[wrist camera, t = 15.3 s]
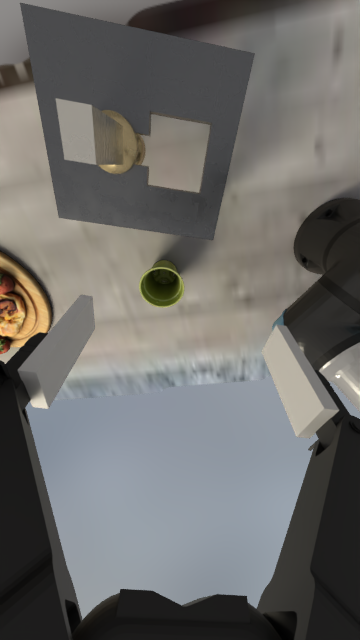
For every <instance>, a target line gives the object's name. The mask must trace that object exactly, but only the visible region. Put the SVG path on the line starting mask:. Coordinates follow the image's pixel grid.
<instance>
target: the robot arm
mask: <svg viewBox="0 0 360 640" xmlns="http://www.w3.org/2000/svg"><path fill="white" fill-rule="evenodd" d="M294 254H295V257H296V259H297V261H298V262H299V264H300V265H302V266H303V267H304V268H305V269H307V270H308V271H310V272H313V273H317V274H322V275H323V276H322V277H321V278H320V279H319V280H317V281H316V282H315V283H314V284H313V285H312V286H311V287H310V288H309V289H308V290H307V291H306V292H305V293H304V294H303V295H301V296H300V297H299V298H298V299H297V300H296V301H295V302H294V303H293V304H292V305H291V306H290V307H289V308H288V309H285V310H284V311H283V313H282V315H281V316H280V317H279V318H278V319H277V320H276V321H275V322H274V324H273V326H272V333H271V335H270V337H269V339H268V341H267V343H266V345H265V346H264V348H263V350H262V354H263V356H264V359H265V361H266V364H267V366H268V368H269V371H270V373H271V376H272V378H273V381H274V383H275V386H276V388H277V390H278V393H279V395H280V398H281V400H282V403H283V405H284V408H285V410H286V413H287V415H288V418H289V420H290V422H291V425H292V427H293V430H294V432H295V435H296V437H302V438H310V437H311V436H313V435H314V434H315V433H316V434H317V436H318V438H319V439H318V440H317V441H316V442H315V443H314V444H313V445H312V446H310V448H309V449H308V450H310V451H311V450H312V449H313V448H314V449H313V452H312V456H311V458H310V462H309V465H308V468H307V471H306V474H305V478H304V480H303V484H302V487H301V490H300V493H299V496H298V499H297V502H296V506H295V509H294V512H293V515H292V518H291V521H290V525H289V528H288V531H287V534H286V537H285V541H284V544H283V547H282V550H281V553H280V556H279V559H278V562H277V565H276V569H275V572H274V575H273V577H272V579H271V581H270V583H269V584H268V585H267V587H266V588H265V590H264V592H263V594H262V596H261V599H260V601H259V604H258V607H257V609H256V608H254V607H253V606H251V605H250V604H249V603H248V602H247V596H237V595H219V594H217V595H212V596H208V597H203V598H199V599H197V600H194V601H192V602H189V603H187V604H184V605H182V606H181V605H179V604H177V603H175V602H173V601H172V600H170V599H168V598H166V597H163V596H161V595H160V594H158V593H156V592H154V591H147V590H128V589H121V590H120V593H118V594H116V595H113V596H111V597H109V598H107V599H106V600H104V601H102V602H101V603H100V604H99V605H97V606H96V607H95V608H94V609H93V610H92V611H91V612H90V613H89V614H88V615H87V616H86V617H85V618H84V619H83V620H82V616H81V613H80V609H79V605H78V601H77V597H76V593H75V590H74V587H73V583H72V580H71V577H70V574H69V571H68V569H67V566H66V562H65V558H64V554H63V550H62V546H61V542H60V539H59V535H58V531H57V527H56V523H55V519H54V516H53V512H52V508H51V504H50V500H49V496H48V492H47V489H46V485H45V481H44V477H43V473H42V469H41V465H40V461H39V458H38V454H37V450H36V446H35V442H34V438H33V435H32V431H31V427H30V423H29V419H28V415H27V411H26V409H25V407H26V405H27V404H28V403H29V401H30V402H31V404H32V406H33V407H38V408H47V409H49V407H50V405H51V403H52V402H53V400H54V398H55V397H56V395H57V393H58V392H59V390H60V388H61V386H62V385H63V383H64V381H65V379H66V378H67V376H68V374H69V372H70V371H71V369H72V367H73V365H74V364H75V362H76V360H77V359H78V357H79V355H80V353H81V352H82V350H83V348H84V346H85V345H86V343H87V341H88V339H89V338H90V336H91V334H92V333H93V331H94V329H95V321H94V310H93V298H92V296H86V295H80V296H79V298H78V299H77V300H76V301H75V302H74V303H73V305H72V306H71V307H70V308H69V309H68V311H67V312H66V313H65V314H64V315H63V317H62V318H61V319H60V320H59V321H58V322H57V324H56V325H55V326H54V327H53V328H52V330H51V331H50V332H49V333H42V332H39V333H37V334H36V335H34V336H32V337H30V338H29V339H28V341H27V342H26V343H25V344H24V346H22V347H21V348H20V349H19V351H17V352H16V354H15V355H14V356H13V357H12V358H11V359H10V360H9V361H8V362H7V363H6V364H5V363H4V362H3V361H0V640H360V419H359V418H357V417H354V416H351V415H350V414H349V412H348V411H347V409H346V408H345V406H344V405H343V403H342V402H341V400H340V399H339V397H338V396H337V394H336V393H335V392H334V390H333V388H332V387H331V386H330V384H329V382H328V381H331V382H333V383H334V384H335V385H336V386H337V387H338V388H339V389H340V390H341V391H342V393H343V394H344V395H345V396H346V397H347V398H348V399H349V400H350V402H351V403H352V404H353V405H354V406H355V407H356V408H357V409H358V411H359V412H360V200H357V199H352V198H340V199H335V200H332V201H330V202H327V203H325V204H324V205H322V206H320V207H319V208H317V209H316V210H315V211H314V212H312V213H311V214H310V215H309V216H308V217H307V218H306V220H305V221H304V222H303V224H302V225H301V227H300V228H299V230H298V232H297V235H296V238H295V242H294Z"/></svg>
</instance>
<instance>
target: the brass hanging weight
mask: <svg viewBox="0 0 360 640" xmlns="http://www.w3.org/2000/svg"><path fill="white" fill-rule="evenodd" d="M56 105H57V112H58V119H59V125H60V132H61V139H62V146H63V153H64V160H70V161H76V162H82V163H88V164H95V165H99V166H100V167H101V168H102V169H103V170H105V171H107V172H109V173H113V174H120V173H124V172H127V171H128V170H129V169H131V168H132V166H133V165H134V164H136V165H141V164H142V162H143V160H144V158H145V144H144V141H143V139H142V137H141V135H140V134H135V132H134V129H133V128H132V126H131V124H130V123H129V122H128V121H127V120H126V119H125V118H124V117H123V116H122V115H120V114H119V113H117V112H115V111H112V110H103V111H100V110H98V109H97V108H95V107H94V106H92V105H89V104H84V103H79V102H73V101H68V100H62V99H57V98H56Z"/></svg>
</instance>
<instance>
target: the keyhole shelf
mask: <svg viewBox="0 0 360 640" xmlns="http://www.w3.org/2000/svg"><path fill="white" fill-rule="evenodd" d="M20 5H21V11H22V16H23V22H24V27H25V33H26V38H27V44H28V50H29V55H30V61H31V66H32V72H33V77H34V83H35V88H36V94H37V99H38V105H39V110H40V116H41V121H42V127H43V132H44V138H45V144H46V149H47V155H48V160H49V166H50V171H51V177H52V182H53V188H54V193H55V199H56V204H57V210H58V215H59V218H64V219H71V220H78V221H85V222H92V223H99V224H105V225H112V226H119V227H126V228H133V229H140V230H147V231H154V232H160V233H167V234H174V235H181V236H188V237H195V238H202V239H209V240H213V238H214V233H215V229H216V224H217V220H218V215H219V211H220V206H221V202H222V197H223V193H224V188H225V184H226V179H227V175H228V170H229V166H230V161H231V157H232V152H233V148H234V143H235V139H236V134H237V130H238V125H239V121H240V117H241V112H242V108H243V103H244V99H245V94H246V90H247V85H248V81H249V76H250V72H251V67H252V63H253V58H254V54H255V53H250V52H245V51H241V50H236V49H232V48H227V47H222V46H218V45H213V44H208V43H204V42H199V41H195V40H190V39H185V38H181V37H176V36H172V35H167V34H162V33H158V32H153V31H148V30H144V29H139V28H135V27H130V26H125V25H121V24H115V23H111V22H107V21H102V20H98V19H93V18H88V17H83V16H79V15H74V14H70V13H65V12H60V11H56V10H51V9H47V8H42V7H37V6H33V5H28V4H23V3H20ZM56 98H57V99H62V100H68V101H73V102H79V103H84V104H89V105H92V106H94V107H95V108H97V109H98V110H100V111H103V110H112V111H115V112H117V113H119V114H120V115H122V116H123V117H124V118H125V119H126V120H127V121H128V122H129V123H130V124H131V126H132V128H133V129H134V132H135V134H140V135H145V136H150V131H151V114H155V115H160V116H166V117H171V118H176V119H182V120H187V121H192V122H198V123H203V124H208V125H211V126H210V132H209V138H208V144H207V150H206V156H205V162H204V168H203V174H202V180H201V186H200V192H199V193H196V192H190V191H184V190H177V189H171V188H165V187H159V186H153V185H148V178H149V167H148V166H142V165H136V164H134V165H133V166H132V168H131V169H129V170H128V171H127V172H124V173H120V174H113V173H109V172H107V171H105V170H103V169H102V168H101V167H100V166H99V165H95V164H88V163H82V162H76V161H70V160H64V153H63V146H62V139H61V132H60V125H59V119H58V112H57V105H56Z"/></svg>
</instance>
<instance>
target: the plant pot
mask: <svg viewBox="0 0 360 640" xmlns="http://www.w3.org/2000/svg"><path fill="white" fill-rule="evenodd" d="M154 270H155V274H154ZM164 272H165V274H163V273H164ZM173 273H175V275H174V276H173ZM162 281H167V282H162ZM139 290H140V293H141V295H142V297H143V298H144V299H145V301H147V302H148V303H149V304H151V305H153V306H156V307H169V306H172V305H174V304H176V303H177V302H179V300H180V299H181V298H182V296H183V294H184V282H183V280H182V278H181V276H180V275H179V274H178V272H177V269H176V267H175V266H174V264H173V263H171V262H170V261H167V260H161V261H158V262H157V263H155V264H154V266H153V267H152V268H151V269H150V270H148V271H146V272H145V273H144V274H143V276H142V277H141V279H140V283H139Z"/></svg>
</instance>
